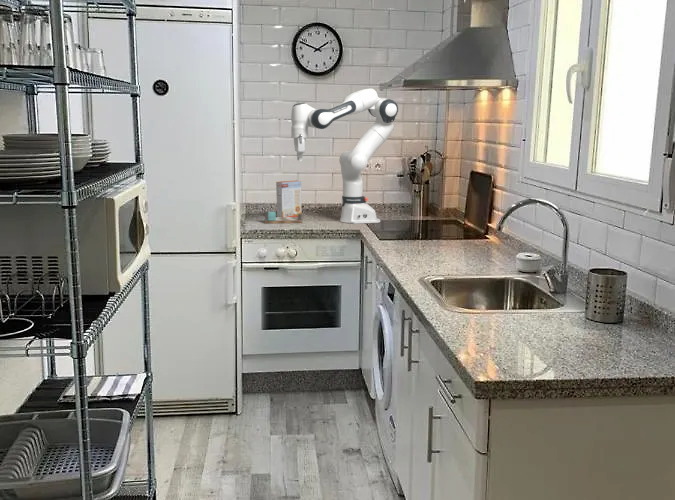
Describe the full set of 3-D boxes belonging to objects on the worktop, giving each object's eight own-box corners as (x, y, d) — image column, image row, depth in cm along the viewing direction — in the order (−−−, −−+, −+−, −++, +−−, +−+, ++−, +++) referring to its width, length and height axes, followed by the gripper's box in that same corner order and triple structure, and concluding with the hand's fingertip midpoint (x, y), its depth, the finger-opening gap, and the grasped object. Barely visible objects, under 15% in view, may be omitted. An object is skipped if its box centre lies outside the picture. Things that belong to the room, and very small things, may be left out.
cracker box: (295, 215, 412) (295, 180, 408) (302, 216, 407) (301, 180, 403) (276, 217, 403) (275, 181, 399) (282, 218, 399) (281, 182, 395)
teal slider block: (275, 219, 388) (275, 211, 387) (275, 220, 383) (275, 212, 382) (268, 219, 387) (267, 211, 386) (268, 220, 383) (268, 212, 382)
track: (300, 220, 392) (300, 210, 391) (301, 223, 383) (301, 212, 382) (264, 221, 390) (264, 211, 389) (265, 223, 380) (265, 213, 379)
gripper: (307, 134, 358) (307, 162, 361) (304, 133, 378) (304, 159, 380) (295, 134, 357) (295, 162, 360) (292, 133, 377) (292, 159, 380)
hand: (299, 160), depth 370 cm, fingers open, 8 cm apart
